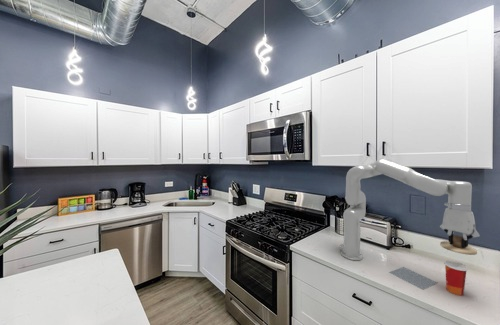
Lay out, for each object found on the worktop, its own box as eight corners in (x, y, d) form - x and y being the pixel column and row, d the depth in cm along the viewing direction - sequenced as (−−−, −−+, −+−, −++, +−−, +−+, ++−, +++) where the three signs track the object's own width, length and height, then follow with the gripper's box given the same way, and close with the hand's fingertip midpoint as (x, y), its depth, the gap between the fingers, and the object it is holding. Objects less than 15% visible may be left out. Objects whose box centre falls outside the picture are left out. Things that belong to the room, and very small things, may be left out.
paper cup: (453, 287, 99) (454, 259, 99) (471, 297, 91) (472, 268, 91) (438, 287, 99) (439, 259, 98) (455, 298, 91) (456, 268, 91)
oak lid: (435, 245, 97) (435, 233, 97) (447, 241, 102) (447, 230, 102) (470, 257, 86) (470, 243, 86) (481, 251, 91) (482, 238, 91)
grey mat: (388, 273, 111) (388, 272, 110) (403, 267, 116) (403, 266, 116) (423, 290, 96) (423, 289, 96) (438, 283, 102) (438, 282, 102)
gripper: (433, 204, 100) (432, 240, 100) (481, 212, 85) (480, 255, 85) (440, 203, 103) (439, 237, 103) (488, 210, 88) (487, 251, 88)
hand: (457, 245), depth 94 cm, fingers closed on oak lid, 3 cm apart
